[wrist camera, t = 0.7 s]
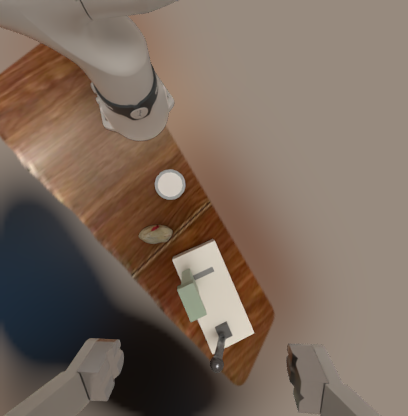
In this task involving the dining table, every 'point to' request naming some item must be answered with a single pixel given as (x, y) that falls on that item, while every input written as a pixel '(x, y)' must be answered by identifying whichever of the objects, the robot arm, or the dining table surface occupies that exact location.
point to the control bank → (215, 294)
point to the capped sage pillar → (191, 296)
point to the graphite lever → (218, 355)
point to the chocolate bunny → (156, 234)
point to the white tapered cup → (170, 184)
